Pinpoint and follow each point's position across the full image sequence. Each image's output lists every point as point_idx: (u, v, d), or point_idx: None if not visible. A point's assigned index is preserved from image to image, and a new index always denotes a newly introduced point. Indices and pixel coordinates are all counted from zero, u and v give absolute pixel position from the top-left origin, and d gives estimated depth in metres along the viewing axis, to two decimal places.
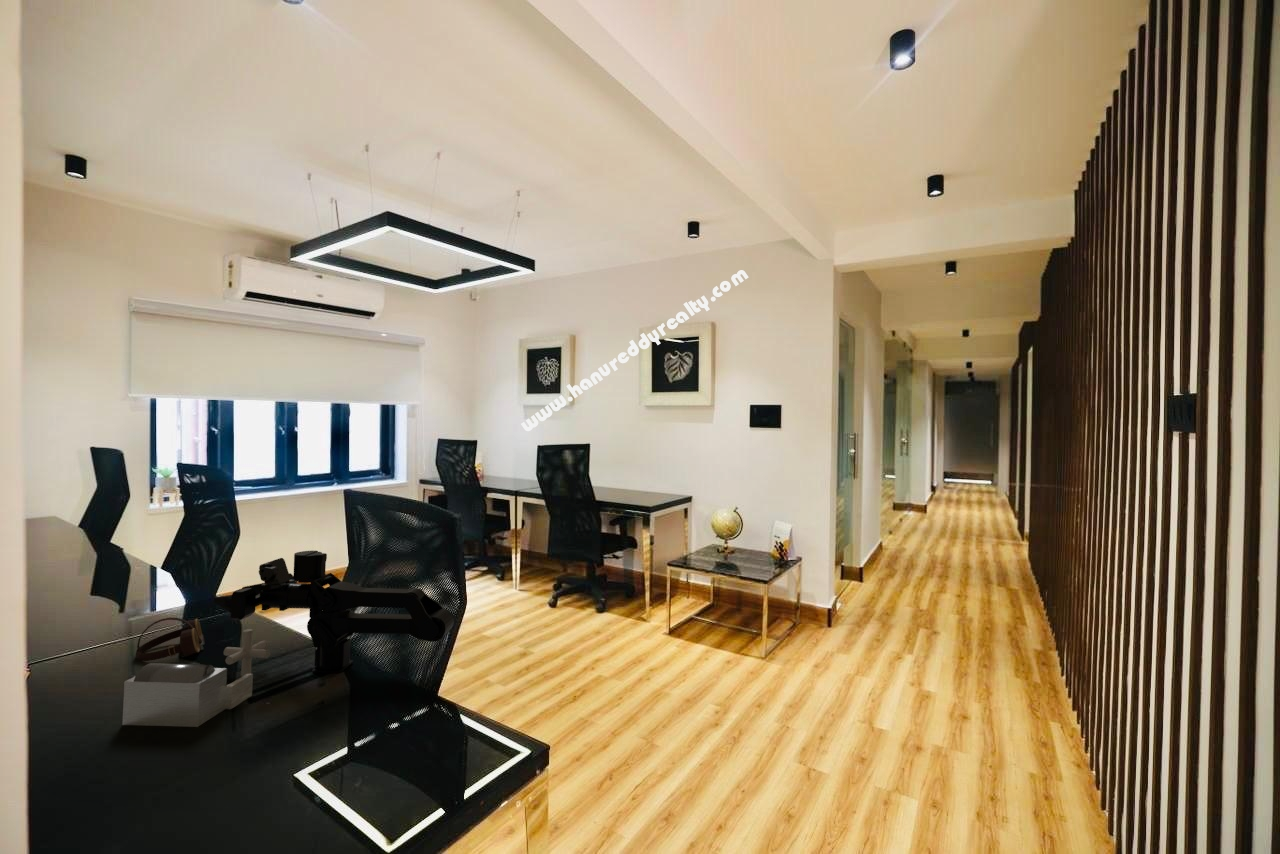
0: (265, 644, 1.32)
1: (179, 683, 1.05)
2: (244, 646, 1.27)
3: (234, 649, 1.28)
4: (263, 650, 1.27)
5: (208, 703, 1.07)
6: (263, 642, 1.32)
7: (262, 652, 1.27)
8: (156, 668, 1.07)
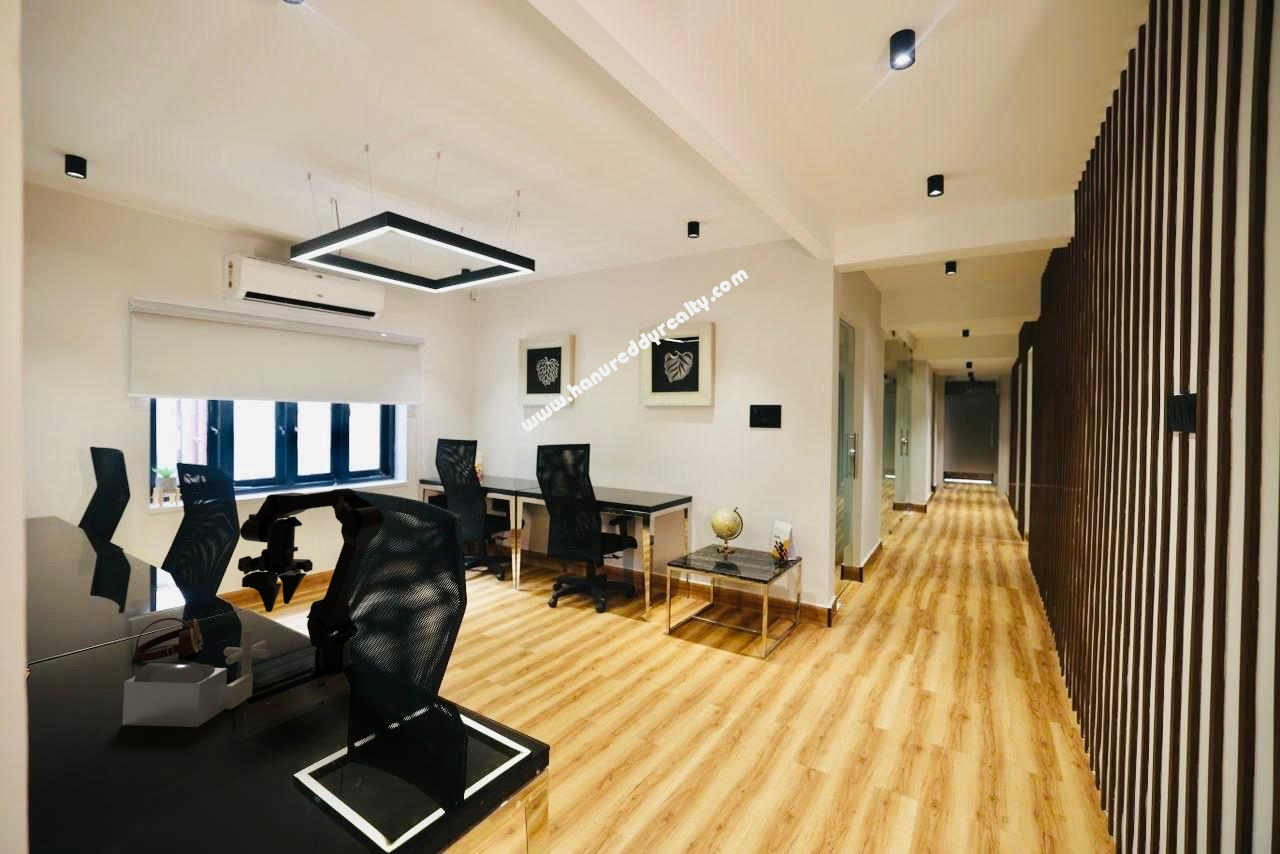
0: (265, 644, 1.32)
1: (179, 683, 1.05)
2: (244, 646, 1.27)
3: (234, 649, 1.28)
4: (263, 650, 1.27)
5: (208, 703, 1.07)
6: (263, 642, 1.32)
7: (262, 652, 1.27)
8: (156, 668, 1.07)
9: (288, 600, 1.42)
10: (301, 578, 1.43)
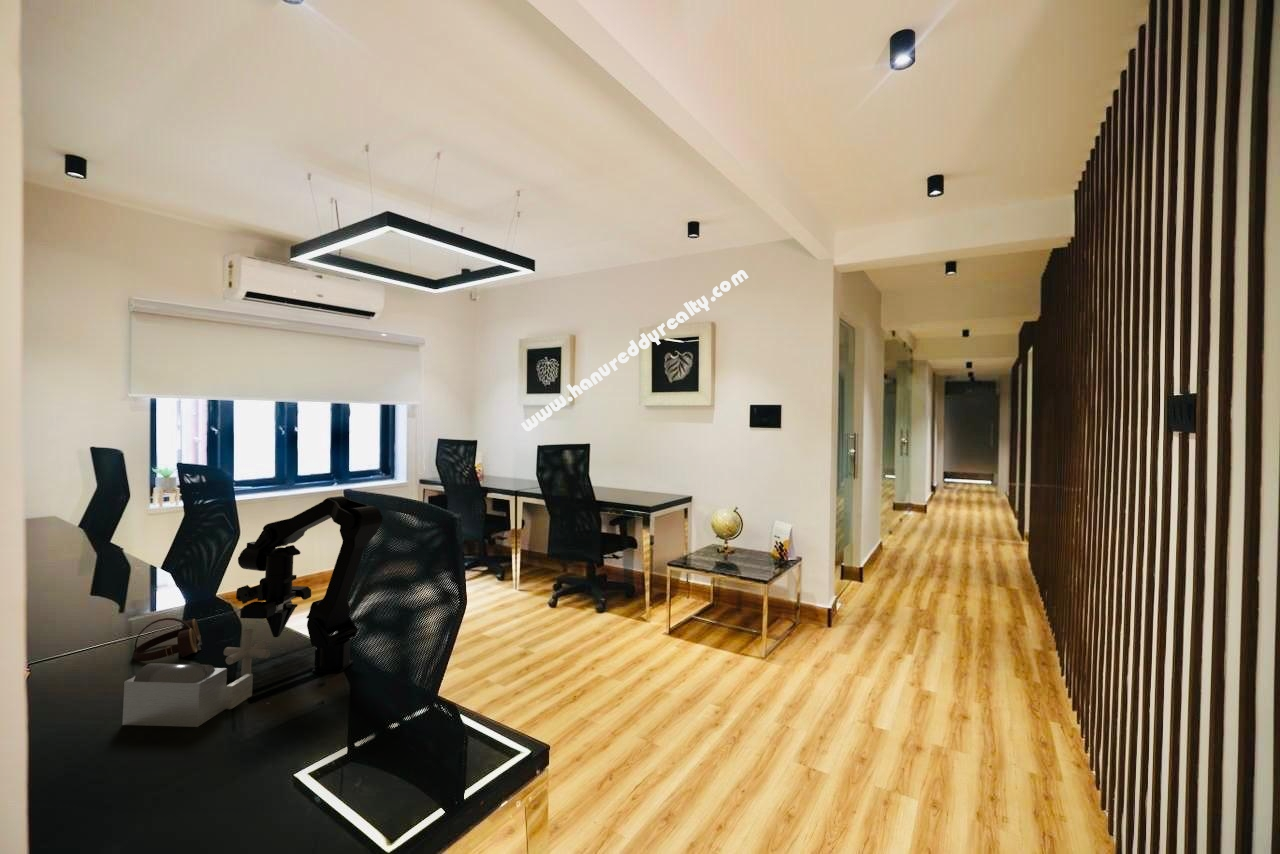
0: (265, 644, 1.32)
1: (179, 683, 1.05)
2: (244, 646, 1.27)
3: (234, 649, 1.28)
4: (263, 650, 1.27)
5: (208, 703, 1.07)
6: (263, 642, 1.32)
7: (262, 652, 1.27)
8: (156, 668, 1.07)
9: None
10: (292, 610, 1.40)
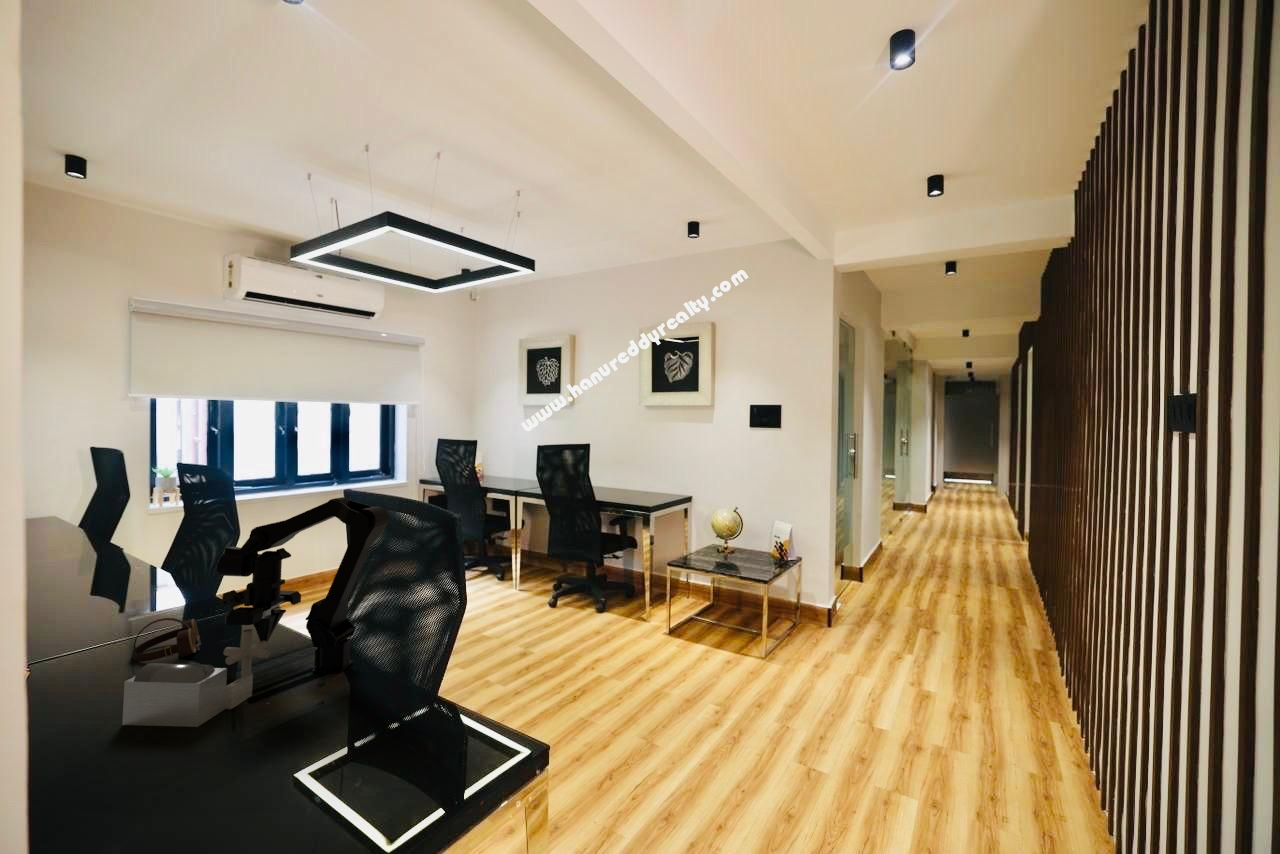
0: (265, 644, 1.32)
1: (179, 683, 1.05)
2: (244, 646, 1.27)
3: (234, 649, 1.28)
4: (263, 650, 1.27)
5: (208, 703, 1.07)
6: (263, 642, 1.32)
7: (262, 652, 1.27)
8: (156, 668, 1.07)
9: None
10: (280, 615, 1.35)
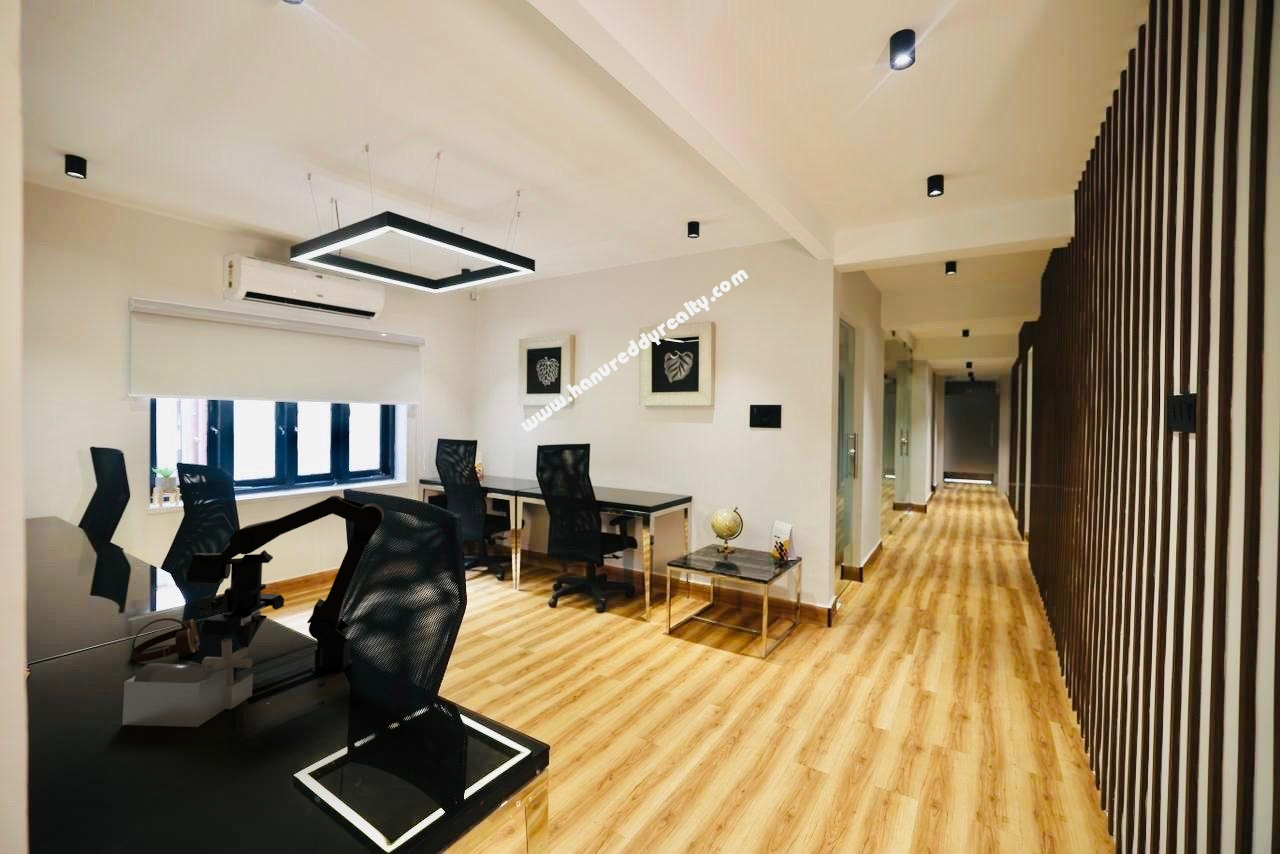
0: (246, 651, 1.26)
1: (179, 683, 1.05)
2: (224, 656, 1.21)
3: (213, 659, 1.21)
4: (245, 660, 1.21)
5: (208, 703, 1.07)
6: (244, 649, 1.26)
7: (244, 662, 1.21)
8: (156, 668, 1.07)
9: None
10: (260, 622, 1.28)
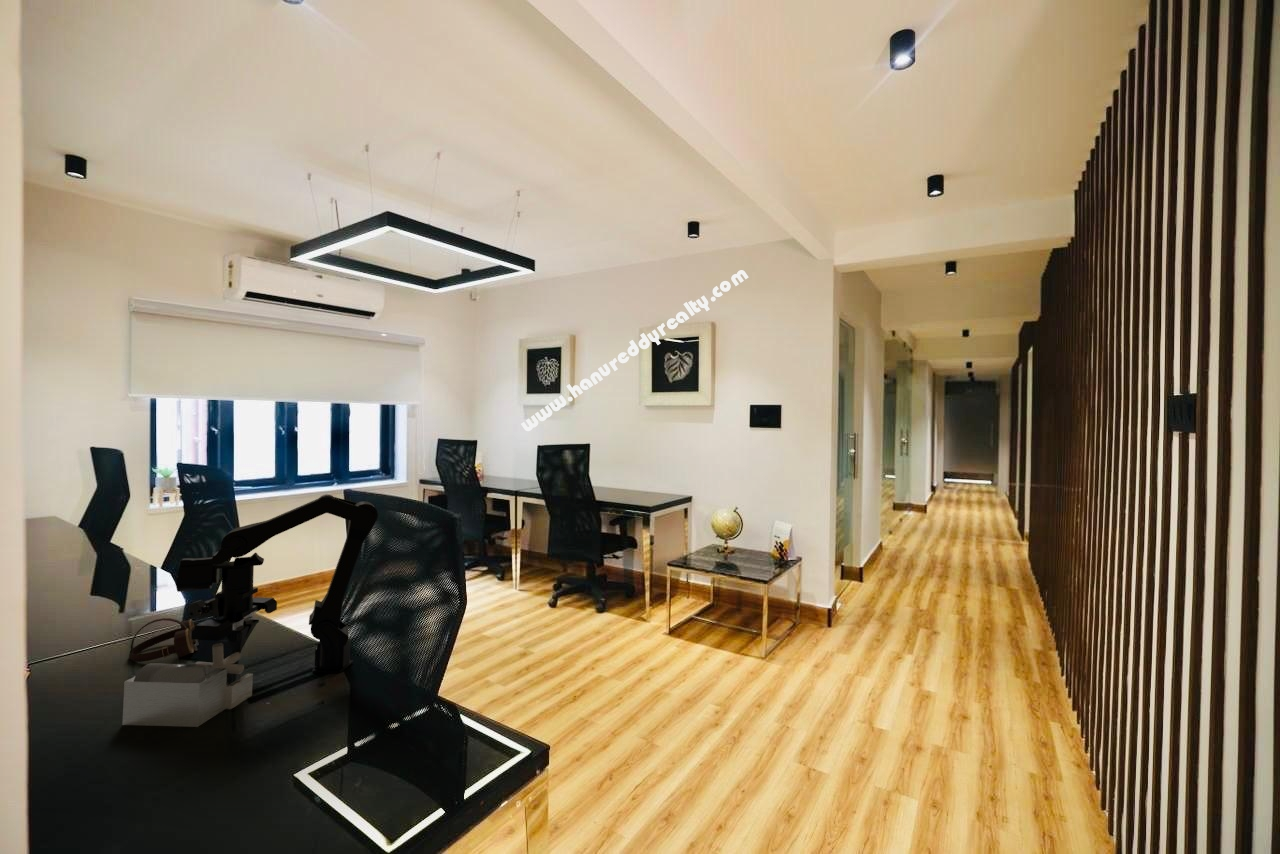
0: (238, 656, 1.23)
1: (179, 683, 1.05)
2: (215, 662, 1.18)
3: (204, 664, 1.19)
4: (236, 665, 1.18)
5: (208, 703, 1.07)
6: (236, 654, 1.23)
7: (235, 667, 1.18)
8: (156, 668, 1.07)
9: None
10: (252, 626, 1.25)
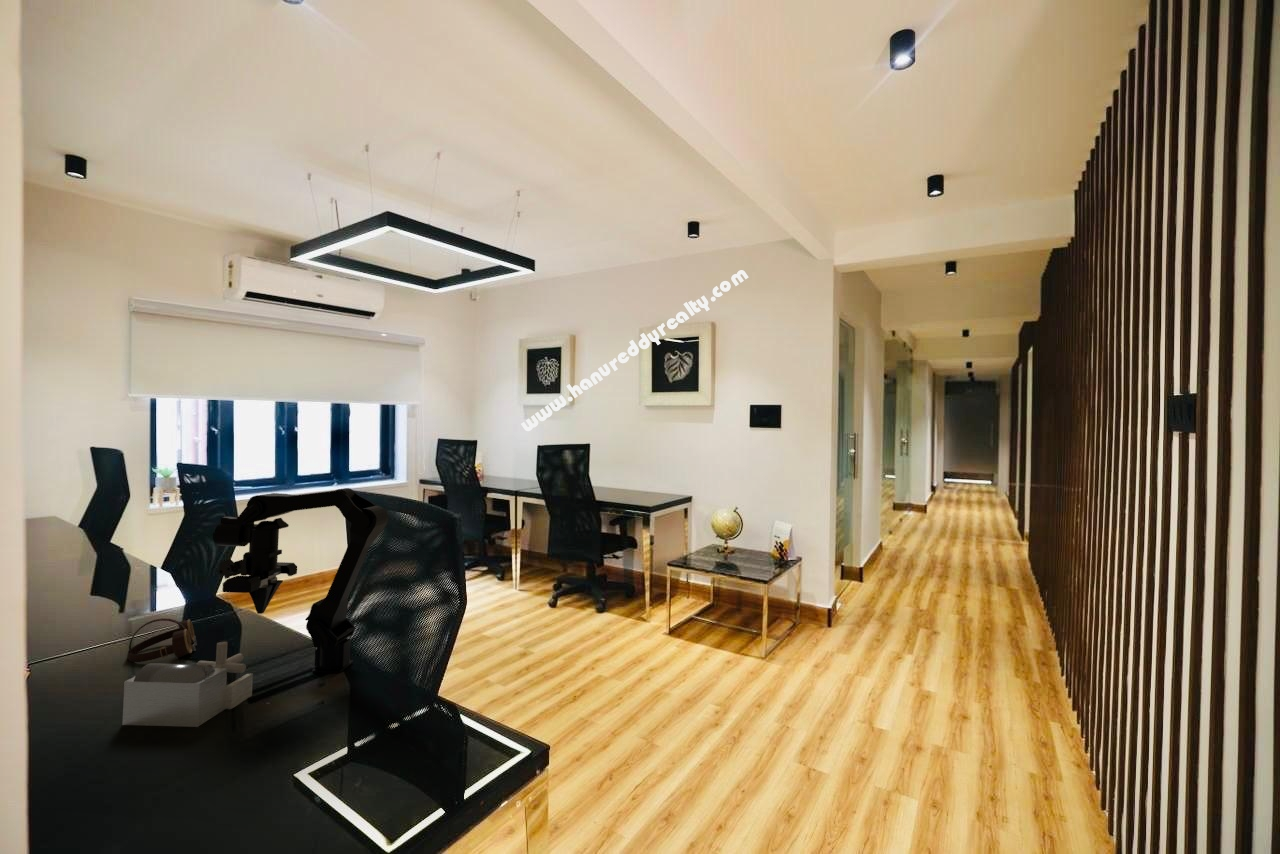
0: (241, 657, 1.24)
1: (179, 683, 1.05)
2: (218, 660, 1.19)
3: (207, 663, 1.19)
4: (238, 664, 1.19)
5: (208, 703, 1.07)
6: (239, 655, 1.24)
7: (237, 666, 1.19)
8: (156, 668, 1.07)
9: None
10: (277, 585, 1.35)
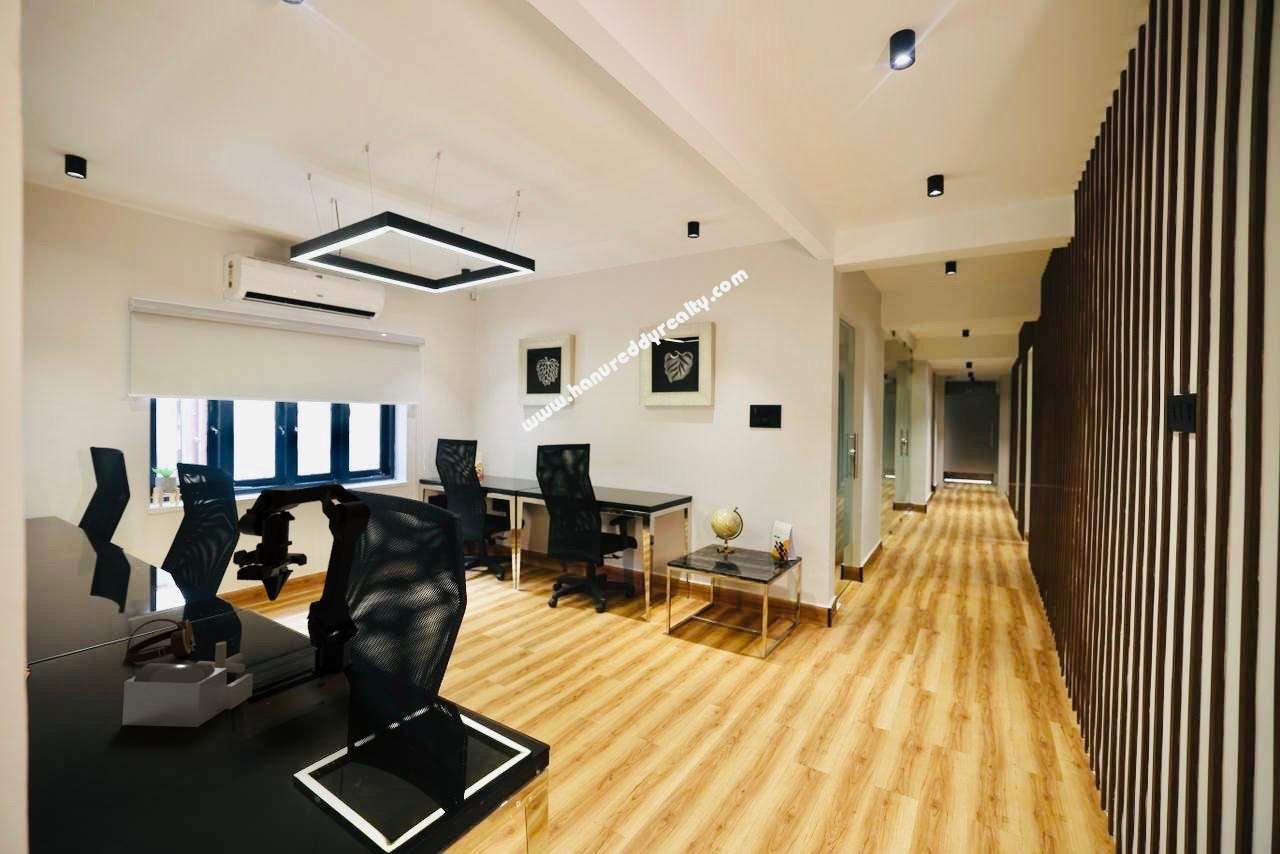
0: (240, 657, 1.24)
1: (179, 683, 1.05)
2: (217, 660, 1.19)
3: (206, 663, 1.19)
4: (237, 664, 1.19)
5: (208, 703, 1.07)
6: (238, 655, 1.24)
7: (236, 666, 1.19)
8: (156, 668, 1.07)
9: None
10: (288, 574, 1.43)
